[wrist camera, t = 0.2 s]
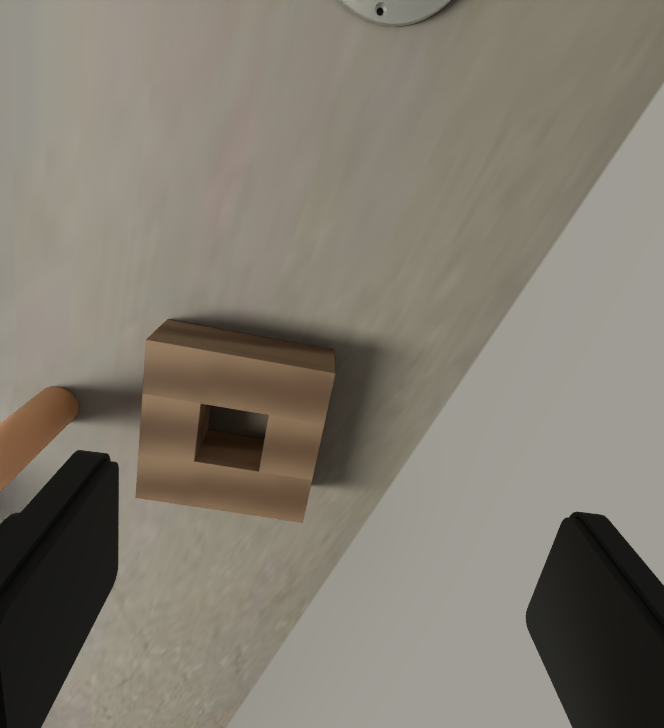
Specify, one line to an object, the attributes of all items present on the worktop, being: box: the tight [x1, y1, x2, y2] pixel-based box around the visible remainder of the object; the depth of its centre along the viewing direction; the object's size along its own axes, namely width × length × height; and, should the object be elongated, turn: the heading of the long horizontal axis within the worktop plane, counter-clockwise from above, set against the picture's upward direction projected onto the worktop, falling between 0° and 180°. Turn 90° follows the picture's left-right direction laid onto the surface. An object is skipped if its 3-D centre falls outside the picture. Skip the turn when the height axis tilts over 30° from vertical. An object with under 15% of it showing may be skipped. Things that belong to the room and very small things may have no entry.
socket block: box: [136, 319, 335, 523], centre depth 47 cm, size 16×16×6 cm
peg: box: [0, 387, 79, 491], centre depth 43 cm, size 4×4×14 cm
